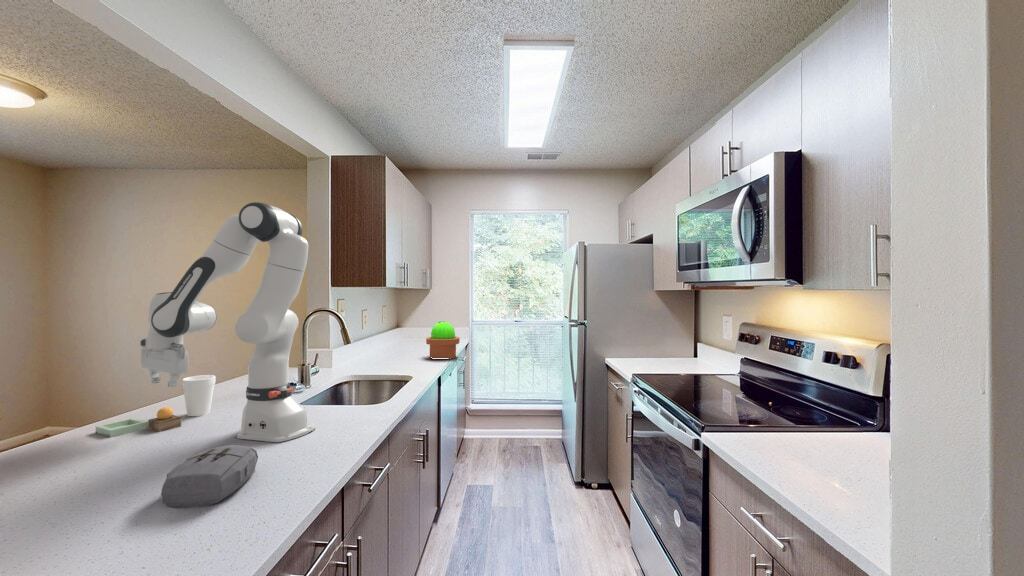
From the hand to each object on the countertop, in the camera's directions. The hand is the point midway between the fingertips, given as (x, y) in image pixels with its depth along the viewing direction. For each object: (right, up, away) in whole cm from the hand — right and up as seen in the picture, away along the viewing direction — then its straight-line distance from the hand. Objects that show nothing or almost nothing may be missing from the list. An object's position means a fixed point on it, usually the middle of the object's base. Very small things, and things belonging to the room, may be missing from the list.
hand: (163, 384), depth 128 cm
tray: (-11, -14, -3) cm, 18 cm away
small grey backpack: (+45, -14, -38) cm, 60 cm away
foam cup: (0, -14, +14) cm, 20 cm away
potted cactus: (+66, -16, +139) cm, 155 cm away
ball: (0, -9, 0) cm, 9 cm away
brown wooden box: (0, -14, 0) cm, 14 cm away
